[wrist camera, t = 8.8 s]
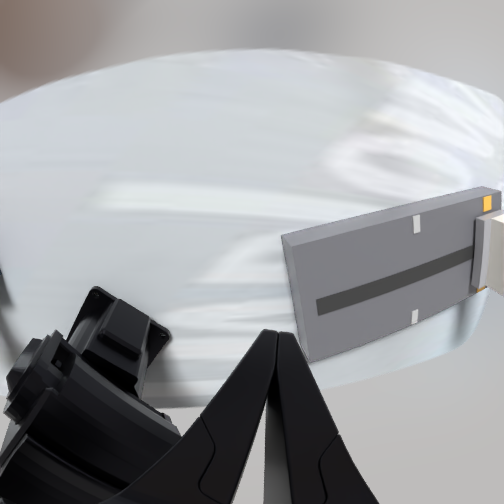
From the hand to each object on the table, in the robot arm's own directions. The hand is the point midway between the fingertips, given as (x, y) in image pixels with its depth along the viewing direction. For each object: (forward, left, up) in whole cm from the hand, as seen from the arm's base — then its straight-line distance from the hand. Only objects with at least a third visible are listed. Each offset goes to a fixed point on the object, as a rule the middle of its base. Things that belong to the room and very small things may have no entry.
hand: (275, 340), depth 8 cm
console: (+6, -13, -12) cm, 18 cm away
